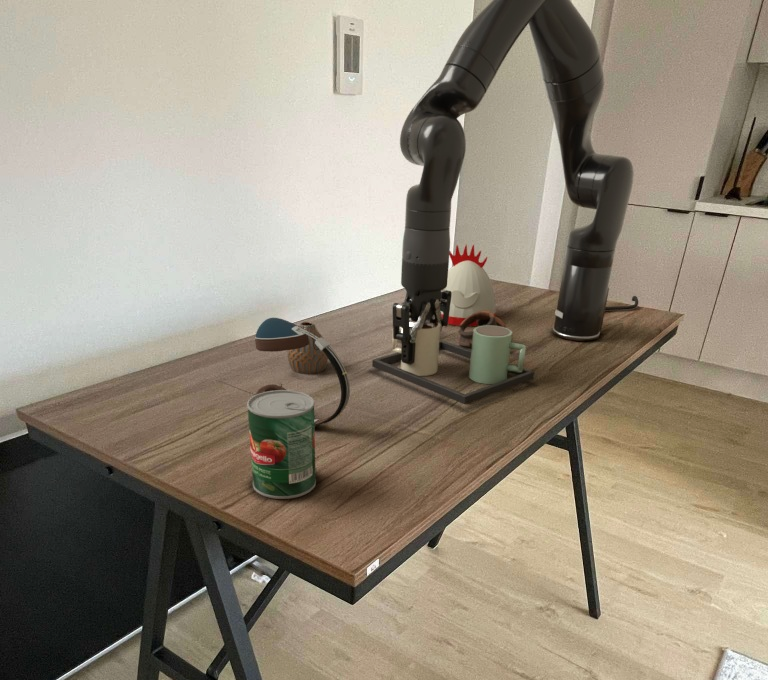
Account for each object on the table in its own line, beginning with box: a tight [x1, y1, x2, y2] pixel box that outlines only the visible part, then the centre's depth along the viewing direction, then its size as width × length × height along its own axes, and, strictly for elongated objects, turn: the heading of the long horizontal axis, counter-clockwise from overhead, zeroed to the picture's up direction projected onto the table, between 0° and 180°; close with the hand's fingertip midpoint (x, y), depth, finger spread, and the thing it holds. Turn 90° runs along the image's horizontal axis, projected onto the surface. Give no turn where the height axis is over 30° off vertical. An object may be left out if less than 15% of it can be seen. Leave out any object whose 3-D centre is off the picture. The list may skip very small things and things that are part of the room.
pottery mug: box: [458, 311, 508, 348], centre depth 135 cm, size 12×10×8 cm
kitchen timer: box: [441, 243, 497, 327], centre depth 151 cm, size 14×14×15 cm
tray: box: [371, 339, 535, 405], centre depth 121 cm, size 18×22×2 cm
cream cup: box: [391, 319, 441, 377], centre depth 121 cm, size 9×6×8 cm
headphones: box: [218, 317, 351, 427], centre depth 101 cm, size 6×15×22 cm
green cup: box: [468, 325, 527, 385], centre depth 117 cm, size 9×6×8 cm
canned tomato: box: [246, 389, 317, 500], centre depth 86 cm, size 8×8×11 cm
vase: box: [286, 321, 329, 375], centre depth 120 cm, size 7×7×9 cm
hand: (419, 357), depth 121 cm, fingers closed on cream cup, 6 cm apart
